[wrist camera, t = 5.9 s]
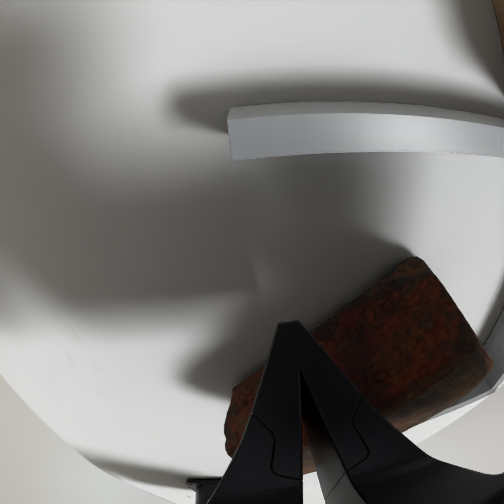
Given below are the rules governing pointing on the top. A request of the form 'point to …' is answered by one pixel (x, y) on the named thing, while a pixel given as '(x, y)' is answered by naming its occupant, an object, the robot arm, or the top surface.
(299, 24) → the top surface
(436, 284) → the brick
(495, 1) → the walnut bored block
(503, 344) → the wall
